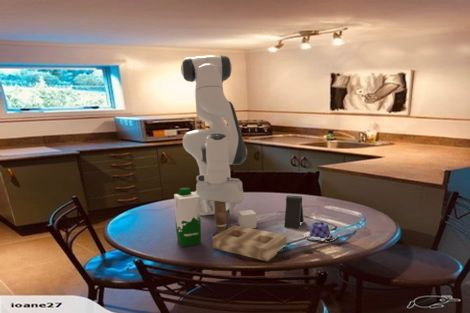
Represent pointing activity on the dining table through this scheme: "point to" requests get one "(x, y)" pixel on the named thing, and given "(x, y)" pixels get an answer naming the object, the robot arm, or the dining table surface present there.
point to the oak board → (249, 242)
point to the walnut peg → (220, 216)
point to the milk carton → (187, 217)
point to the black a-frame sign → (293, 212)
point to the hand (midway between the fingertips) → (220, 212)
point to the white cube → (247, 218)
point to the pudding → (319, 230)
